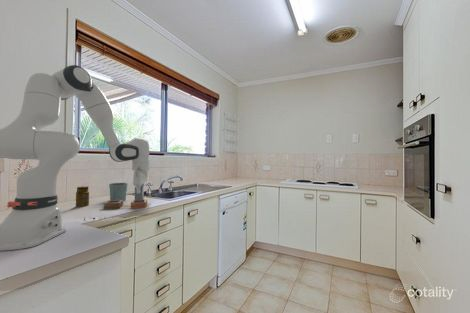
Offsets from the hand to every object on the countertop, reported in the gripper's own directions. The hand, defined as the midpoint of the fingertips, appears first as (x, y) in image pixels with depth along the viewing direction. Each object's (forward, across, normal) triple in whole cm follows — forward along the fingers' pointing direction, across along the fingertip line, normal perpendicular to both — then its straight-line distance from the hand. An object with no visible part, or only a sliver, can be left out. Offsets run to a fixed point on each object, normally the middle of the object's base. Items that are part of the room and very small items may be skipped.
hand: (140, 191), depth 122 cm
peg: (+8, +1, +1) cm, 8 cm away
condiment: (+10, +6, +31) cm, 33 cm away
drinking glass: (+10, +20, +16) cm, 27 cm away
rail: (+10, +1, +7) cm, 12 cm away
